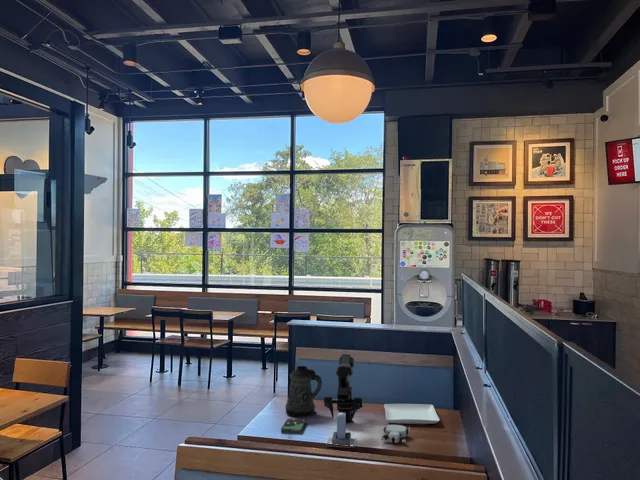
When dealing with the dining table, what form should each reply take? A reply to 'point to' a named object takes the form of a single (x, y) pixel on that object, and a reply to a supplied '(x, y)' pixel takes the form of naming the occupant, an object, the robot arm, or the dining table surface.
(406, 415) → the square plate
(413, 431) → the dining table surface
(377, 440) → the dining table surface
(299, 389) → the beer stein
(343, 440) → the frame
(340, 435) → the light blue tall block
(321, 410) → the dining table surface
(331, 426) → the dining table surface
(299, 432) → the disk drive
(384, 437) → the robot toy
